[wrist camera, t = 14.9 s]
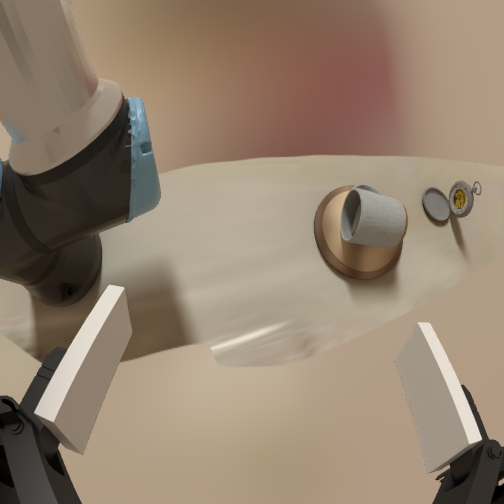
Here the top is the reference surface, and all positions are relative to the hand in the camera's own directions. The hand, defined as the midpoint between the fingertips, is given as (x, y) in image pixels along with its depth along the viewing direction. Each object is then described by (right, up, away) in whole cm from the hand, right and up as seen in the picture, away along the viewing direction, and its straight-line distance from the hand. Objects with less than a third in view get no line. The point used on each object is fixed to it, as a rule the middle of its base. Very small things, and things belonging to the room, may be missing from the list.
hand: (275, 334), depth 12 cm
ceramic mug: (+16, +8, +31) cm, 36 cm away
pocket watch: (+34, +12, +34) cm, 50 cm away
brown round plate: (+16, +7, +31) cm, 36 cm away
